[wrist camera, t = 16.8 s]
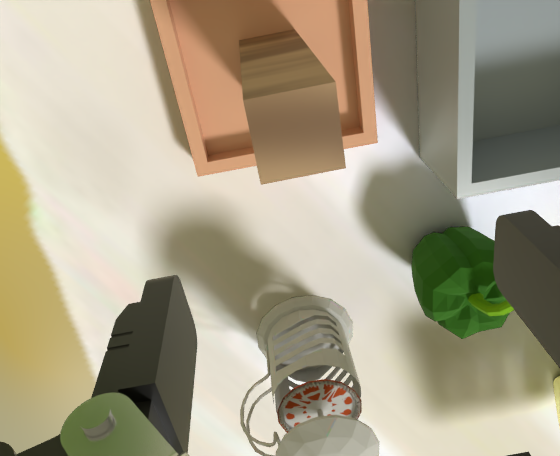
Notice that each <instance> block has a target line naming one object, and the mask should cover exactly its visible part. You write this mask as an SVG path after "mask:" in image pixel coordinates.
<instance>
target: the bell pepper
mask: <svg viewBox="0 0 560 456" xmlns="http://www.w3.org/2000/svg"><path fill="white" fill-rule="evenodd" d="M494 245H495V241H494V240H492V239H490V238H488V237H487V236H485V235H483V234H481V233H480V232H478V231H476V230H474V229H472V228H470V227H450V228H447V229H446V230H445V231H444V232H443V234H441V233H435V232H433V233H431V234H428V235H426V236H424V237H423V239H422V240H421V241H420V242H419V244H418V245H417V246H416V247H415V249H414V250H413V256H412V277H413V282H414V288H415V292H416V295H417V298H418V301H419V303H420V305H421V307H422V309H423V311H424V313H425V315H426V316H427V317H429V318H430V319H432V320H434V321H437V322H438V324H439V325H441V326H443V327H444V328H446V329H447V330H449V331H450V332H452V333H453V334H455V335H457V336H458V337H460V338H461V339H463V338H466V337H468V336H470V335H472V334H475V333H477V332H480V331H485V330H489V329H494V328H499V327H502V325H503V324H504V322H505V320H506V318H507V316H508V315H509V313H510V312H511V311H514V309H513V307H512V306H511V305H510V304H509V302H508V301H507V300H506V298H505V297H504V296H503V295H502V293H501V292H500V290H499V289H498V286H497V284H496V281H495V278H494V272H493V262H494Z"/></svg>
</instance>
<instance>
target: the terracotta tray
mask: <svg viewBox="0 0 560 456" xmlns="http://www.w3.org/2000/svg"><path fill="white" fill-rule="evenodd" d="M150 2H151V6H152V10H153V13H154V17H155V21H156V25H157V28H158V32H159V36H160V39H161V43H162V47H163V50H164V54H165V58H166V61H167V65H168V69H169V72H170V76H171V80H172V83H173V87H174V91H175V94H176V98H177V102H178V105H179V109H180V113H181V117H182V120H183V124H184V128H185V131H186V135H187V139H188V142H189V146H190V150H191V153H192V157H193V161H194V164H195V168H196V172H197V175H198V176H204V175H209V174H214V173H220V172H225V171H230V170H236V169H241V168H246V167H252V166H257V163H256V159H255V154H254V149H253V145H252V140H251V135H250V131H249V126H248V121H247V117H246V112H245V107H244V102H243V93H242V78H241V63H240V49H239V40H243V39H248V38H253V37H258V36H263V35H268V34H273V33H278V32H283V31H288V30H293V29H295V30H296V31H297V33H298V34H299V35H300V37H301V38H302V39H303V40H304V42H305V43H306V44H307V46H308V47H309V48H310V49H311V51H312V52H313V53H314V55H315V56H316V57H317V58H318V60H319V61H320V62H321V64H322V65H323V66H324V67H325V69H326V70H327V71H328V73H329V74H330V75H331V76H332V78H333V79H334V80H335V82H336V89H337V97H338V106H339V114H340V123H341V131H342V140H343V148H344V149H347V148H353V147H358V146H363V145H369V144H374V143H378V141H377V128H376V114H375V100H374V86H373V72H372V58H371V44H370V30H369V16H368V2H367V0H150Z"/></svg>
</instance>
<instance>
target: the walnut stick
mask: <svg viewBox="0 0 560 456" xmlns="http://www.w3.org/2000/svg"><path fill="white" fill-rule="evenodd" d="M239 49H240V63H241V78H242V93H243V102H244V107H245V112H246V117H247V121H248V126H249V131H250V135H251V140H252V145H253V149H254V154H255V159H256V163H257V168H258V173H259V178H260V182H261V185H262V184H267V183H272V182H277V181H282V180H287V179H292V178H297V177H303V176H308V175H313V174H318V173H323V172H328V171H333V170H338V169H344V168H346V166H345V157H344V148H343V140H342V131H341V123H340V114H339V106H338V97H337V89H336V82H335V80H334V79H333V78H332V76H331V75H330V74H329V73H328V71H327V70H326V69H325V67H324V66H323V65H322V64H321V62H320V61H319V60H318V58H317V57H316V56H315V55H314V53H313V52H312V51H311V49H310V48H309V47H308V46H307V44H306V43H305V42H304V40H303V39H302V38H301V37H300V35H299V34H298V33H297V31H296V30H295V29H293V30H288V31H283V32H278V33H273V34H268V35H263V36H258V37H253V38H248V39H243V40H239Z"/></svg>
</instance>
